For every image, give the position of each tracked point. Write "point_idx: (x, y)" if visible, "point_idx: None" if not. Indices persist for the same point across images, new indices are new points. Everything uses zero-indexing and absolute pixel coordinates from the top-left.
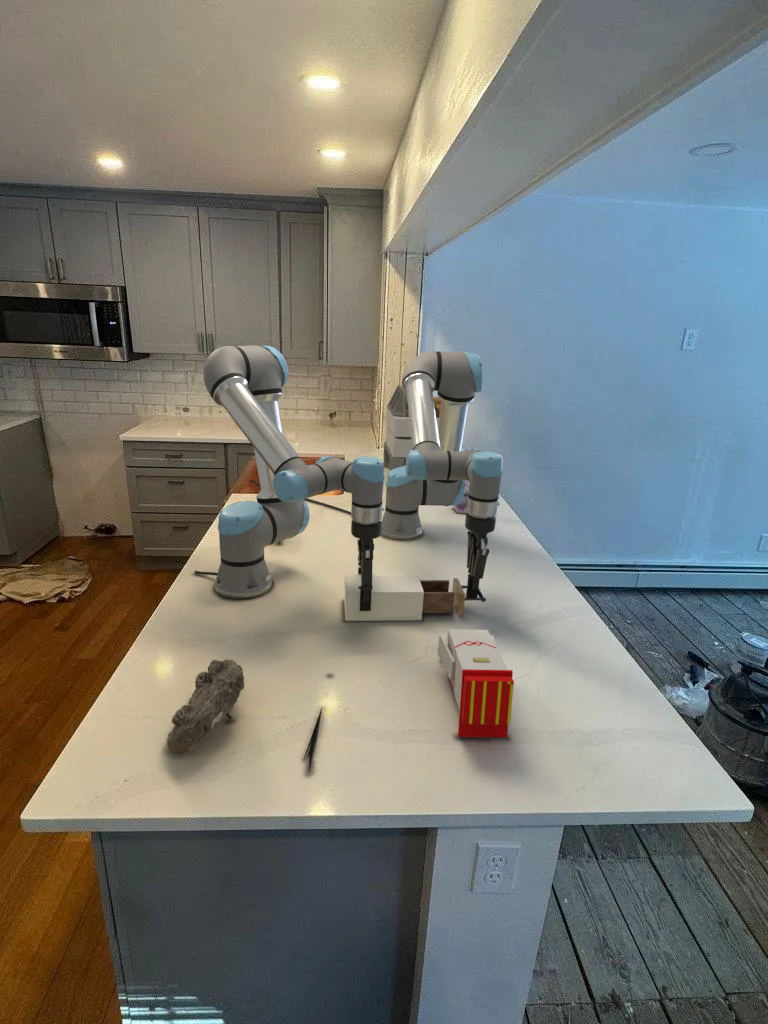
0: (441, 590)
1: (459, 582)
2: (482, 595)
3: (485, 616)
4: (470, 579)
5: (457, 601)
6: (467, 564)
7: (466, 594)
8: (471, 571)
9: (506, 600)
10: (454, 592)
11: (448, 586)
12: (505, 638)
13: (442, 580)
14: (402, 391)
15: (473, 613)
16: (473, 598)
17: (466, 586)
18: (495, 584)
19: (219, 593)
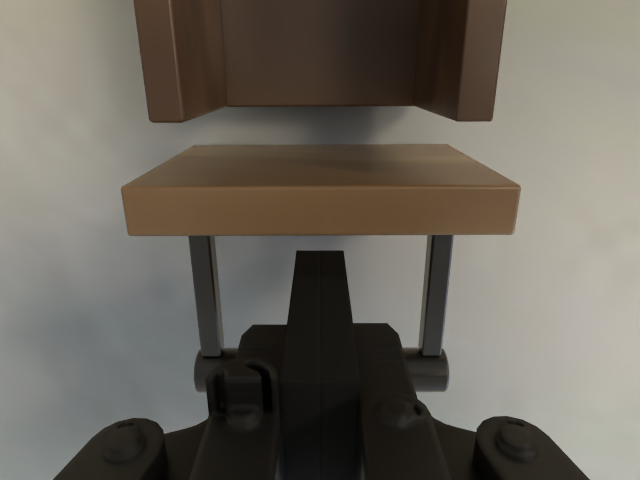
0: (432, 34)
1: (401, 233)
2: None
3: (239, 319)
4: (283, 369)
5: (244, 159)
6: (530, 462)
7: (332, 259)
8: (232, 469)
9: None
10: (380, 161)
11: (438, 110)
12: (7, 363)
13: (493, 32)
14: None
15: (274, 258)
16: (198, 299)
17: (429, 289)
18: (621, 459)
19: None
